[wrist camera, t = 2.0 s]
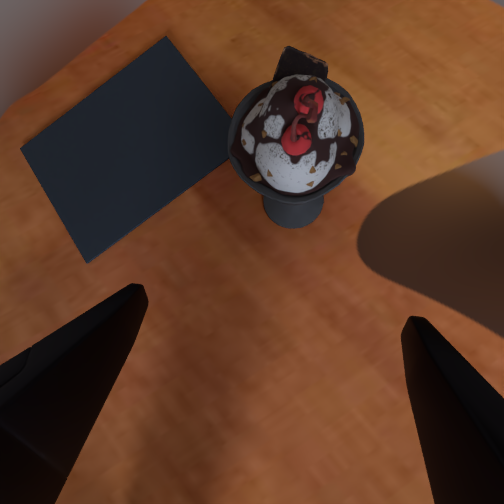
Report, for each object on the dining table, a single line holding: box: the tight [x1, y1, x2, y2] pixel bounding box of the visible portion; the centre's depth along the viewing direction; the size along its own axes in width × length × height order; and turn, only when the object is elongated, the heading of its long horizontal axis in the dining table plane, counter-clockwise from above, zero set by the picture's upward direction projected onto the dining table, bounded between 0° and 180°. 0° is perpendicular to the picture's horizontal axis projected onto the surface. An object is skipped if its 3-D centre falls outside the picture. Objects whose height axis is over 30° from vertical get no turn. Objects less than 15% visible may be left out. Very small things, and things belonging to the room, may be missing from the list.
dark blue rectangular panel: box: [20, 36, 232, 263], centre depth 27 cm, size 14×18×1 cm
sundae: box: [228, 46, 364, 228], centre depth 17 cm, size 7×7×15 cm
